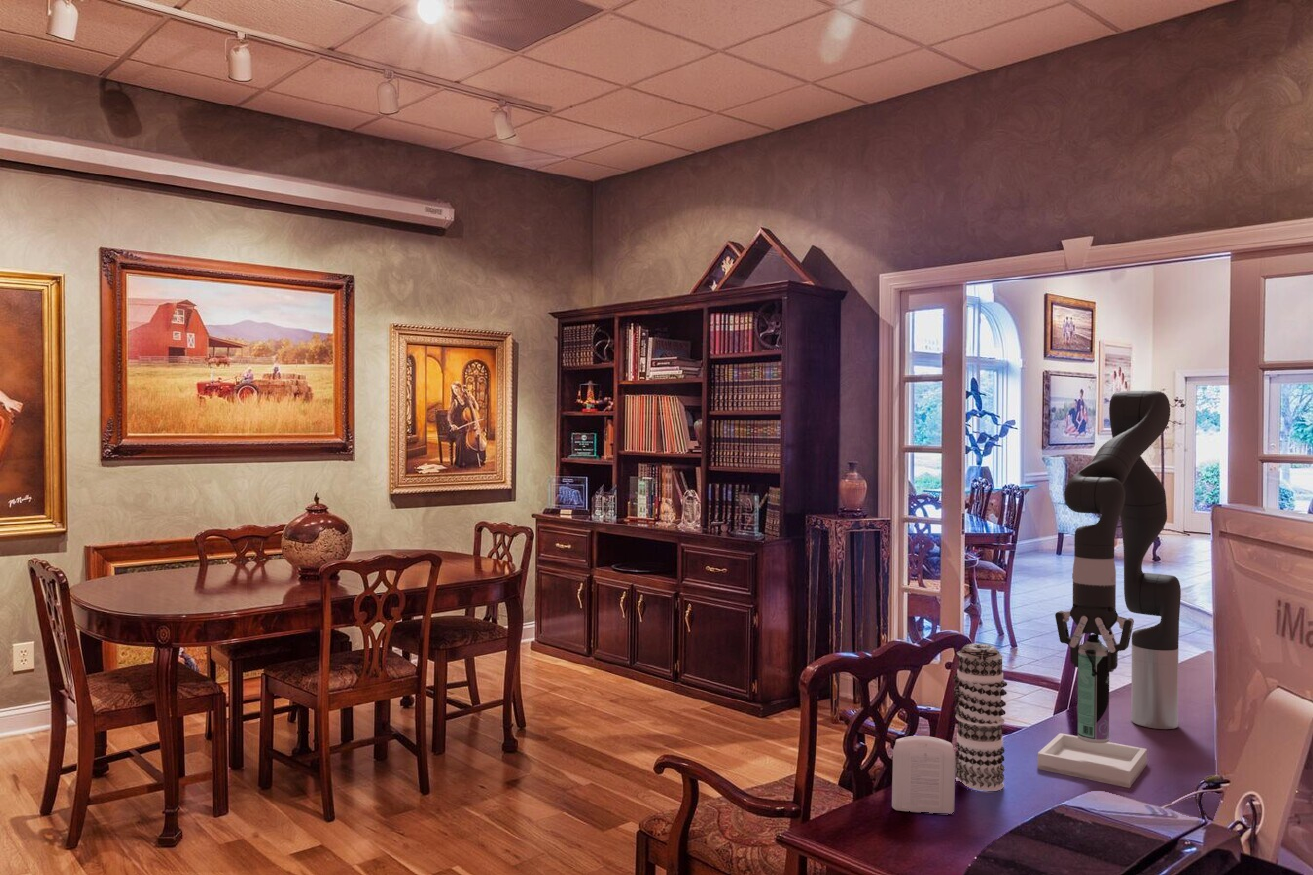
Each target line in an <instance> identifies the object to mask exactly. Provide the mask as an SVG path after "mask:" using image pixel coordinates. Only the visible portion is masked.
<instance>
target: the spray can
mask: <svg viewBox="0 0 1313 875" xmlns="http://www.w3.org/2000/svg"><path fill="white" fill-rule="evenodd" d="M1108 652H1109V650H1108V647H1107V645H1104V644H1103V642H1102V641H1101V640H1100V635H1096V634H1094V633H1091V634H1090V635H1088V638H1087V640H1085V642H1084V643H1082V644H1079V649H1078V667H1077V736H1078V738H1079V739H1081V740H1083V741H1086V742H1091V743H1107V742H1110V741H1109V740H1110V672H1108V670H1107V669H1108Z"/></svg>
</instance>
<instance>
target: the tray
mask: <svg viewBox="0 0 1313 875" xmlns="http://www.w3.org/2000/svg"><path fill="white" fill-rule="evenodd" d="M1036 761H1037V762H1036V763H1037V765H1036V766H1037V770H1042V771H1046V772H1051V773H1055V774H1061V775H1064V776H1065V775H1066V776H1069V777H1074V778H1079V779H1084V780H1087V781H1088V780H1090V781H1093V782H1099V783H1103V784H1109V785H1114V786H1119V787H1124V788H1128V789H1130V788H1131V787H1132V785H1133V784H1134V783H1135V781H1136V780H1137V778H1139V776H1140V775H1141V773H1142V772H1143V770H1144V769H1145V768H1146V767H1147V765H1148V748H1144V747H1137V746H1134V745H1127V744H1122V743H1121V744H1120V743H1117V742H1116V743H1115V742H1112V741H1111V742H1110V741H1108V742H1107V743H1091V742H1086V741H1083V740H1081V739H1079V738H1078V735H1073V734H1067V733H1062V732H1060V733H1058V734H1057V735H1056V736H1055V737H1054V738H1053V739H1051V741H1049V742H1048V743H1047V744H1046V745H1045V746H1044V747H1042V749H1040V750H1039V751H1038V752H1037V760H1036Z"/></svg>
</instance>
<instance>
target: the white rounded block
mask: <svg viewBox="0 0 1313 875" xmlns="http://www.w3.org/2000/svg"><path fill="white" fill-rule="evenodd" d="M955 752H956V751H955V750H954V745H953V744H952V742H950V741H948V740H945V739H943V738H938V737H934V736H928V735H911V736H905V737H901V738H897V739H895V744H894V746H893V749H892V780H891V781H892V782H891V807H892V809H894V810H895V811H901V812H909V811H910V812H911V813H921V812H929V813H928V814H933V813H949V814H950V813H951V814H952V813H953V812H954V813H955V797H956V796H955V792H956V791H955V790H956V782H955V779H956V775H955V770H956V766H955V761H956V755H955V754H956V753H955ZM954 813H953V814H954ZM953 814H952V815H953Z"/></svg>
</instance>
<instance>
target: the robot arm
mask: <svg viewBox="0 0 1313 875" xmlns="http://www.w3.org/2000/svg"><path fill="white" fill-rule="evenodd" d="M1108 406H1109V407H1108V416H1109V417H1108V418H1109V424H1110V425H1109V426H1110V430H1111V436H1112V438H1110V439H1109V440H1107V441H1106V442H1104V443H1103V444H1102V445H1101V446H1100V448H1099V449H1098V450H1097V453H1096V454H1095V456H1094V457H1093V459H1092V461H1091V462H1090V463H1089V464H1087V465H1085V466H1084V467H1083V468H1082V469H1080V470H1079V471H1077V472H1076V473H1075V474H1074V475H1072V477H1070V479H1069V480H1068V481H1067V483H1066V486H1065V489H1064V490H1063V499H1064V503H1065V505H1066V506H1067V507H1068V509H1070V510H1071V512H1073V513H1080V514H1097V515H1100V517H1099V520H1098V521H1097V523H1094V524H1090V525H1088V524H1087V525H1081V526H1079V527H1077V528H1076V529H1075V531H1074V541H1073V542H1074V552H1073V554H1074V557H1073V564H1072V573H1071V574H1072V575H1071V576H1072V577H1071V579H1072V607H1071V609H1070V610H1069V611H1063V610H1059V611H1056V613H1054V616H1055V617H1054V618H1055V621H1056V627H1057V632H1058V637H1059V638H1058V639H1059V641H1060V642H1061V643H1062V644H1066V645H1068V646H1069V648H1070V663H1071V664H1073V667H1074V668H1078V649H1079V645H1080V642H1081V641H1082V638H1083V637H1084V635H1085V634H1096V635H1098V636H1101V637H1102V639H1103V642H1105V646H1106V647H1108V650H1109V652H1108V669H1107V670H1108V672H1109V673H1113V672H1114V671H1115V670H1116V669H1117V667H1118V666H1119V665H1118V664H1119V663H1118V655H1119V654H1118V653H1119V652H1122V651H1125V650H1126V649H1128V648H1129V646H1130V641H1131V692H1130V693H1131V695H1130V696H1131V702H1130V703H1131V704H1130V706H1131V707H1130V708H1131V709H1130V710H1131V711H1130V713H1131V715H1130V716H1131V717H1130V718H1131V720H1130V721H1131V722H1132V723H1134V724H1135V725H1138V726H1142V727H1145V728H1149V729H1155V730H1158V729H1159V730H1173V729H1174V730H1175V729H1176V728H1178V727H1179V639H1180V638H1179V637H1180V613H1181V612H1180V610H1181V600H1182V599H1181V597H1182V592H1181V583H1180V581H1179V578H1177V577H1176V576H1175V575H1170V574H1162V573H1149V572H1143V569H1142V567H1143V566H1142V565H1143V560H1144V558H1145V556H1146V554H1147V552H1148V550H1149V549H1150V547H1151V546H1152V544H1153V543H1154V542H1155V540H1156V539H1157V538H1158V536H1159V535H1160V534H1161V532H1162V531H1163V529H1164V527H1166V526H1165V525H1166V523H1167V521H1168V509H1167V508H1168V506H1167V495H1166V489H1165V486H1163V483H1162V482H1161V480H1160V479H1159V478H1158V476H1157V475H1156V474H1155V472H1154V471H1153V469H1151V467H1149V465H1148V464H1147V463H1146V462H1145V461H1146V460H1144V459H1143V456H1142V455H1143V454H1144V453H1145V452H1146V451H1147V450H1148V449H1149V448H1150V447H1151V446H1152V445H1153V444H1154V442H1155V441H1156V440H1158V438H1159V437H1160V436H1161V435H1162V434H1163V433H1164V432H1165V430H1166V429H1167V427H1168V424H1169V422H1170V418H1171V403H1170V400H1169V398H1168V396H1167V394H1166V393H1164V392H1162V391H1158V390H1120V391H1117V392H1114V393H1113V394H1112V395H1111V397H1110V401H1109V405H1108ZM1119 520H1120V525H1121V535H1122V543H1123V546H1122V548H1123V592H1124V594H1123V595H1124V602H1125V603H1124V604H1125V605H1126V609H1127V610H1128V611H1129V612H1131V613H1133V614H1137V615H1139V614H1140V615H1145V616H1155V617H1160V622H1159V623H1158V624H1155V625H1153V626H1149V627H1146V628H1139V629H1136V630H1134V631H1133V628H1134V623H1135V622H1134V621H1135V620H1134V619H1133V618H1131V617H1129V618H1126V617H1122V616H1119V614H1118V613H1117V610H1116V609H1117V608H1116V606H1117V605H1116V602H1117V600H1116V594H1117V593H1116V590H1117V589H1116V587H1117V586H1116V583H1117V582H1116V581H1117V580H1116V579H1117V575H1116V574H1117V570H1116V563H1115V538H1116V533H1117V528H1118V524H1119ZM1070 618H1071V619H1072V620H1073V622H1074V623H1075V625H1076V628H1075V630H1074V632H1073V636H1072V637H1071V636H1070V634H1069V628H1068V622H1069V621H1070ZM1116 623H1118V624H1119V628H1120V629H1121V630H1122V631H1121V635H1120V639H1119V643H1117V641H1116V638H1115V634H1114V633H1113V630H1112V628H1113V626H1114V625H1115V624H1116Z"/></svg>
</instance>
